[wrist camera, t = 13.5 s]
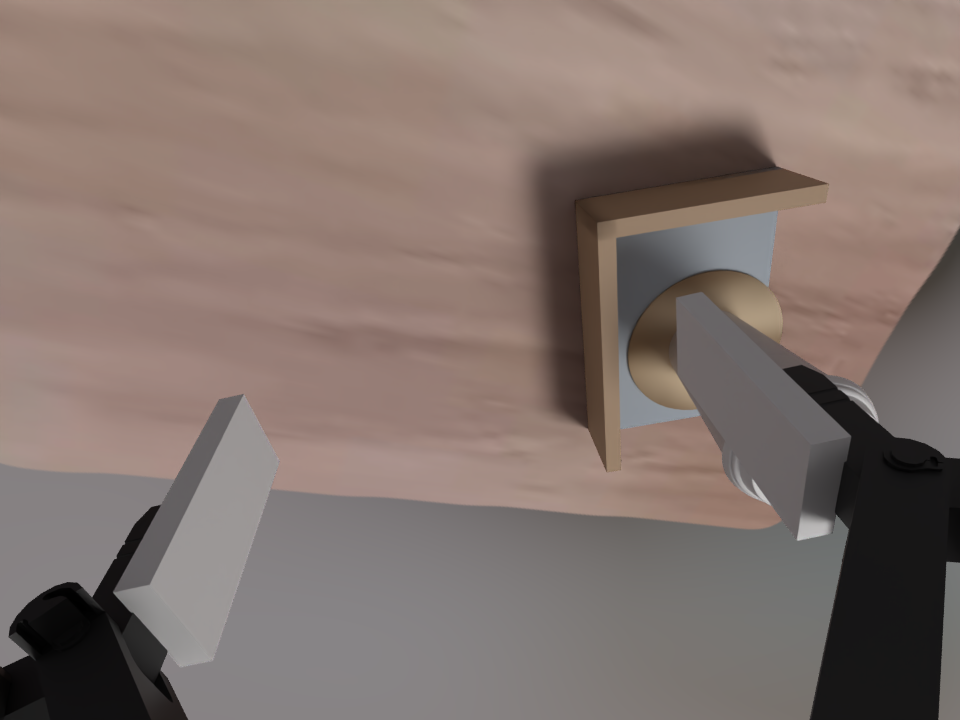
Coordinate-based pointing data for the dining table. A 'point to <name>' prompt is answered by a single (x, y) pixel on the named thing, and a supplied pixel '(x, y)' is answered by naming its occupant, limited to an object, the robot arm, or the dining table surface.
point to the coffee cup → (783, 360)
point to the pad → (660, 325)
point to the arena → (665, 272)
